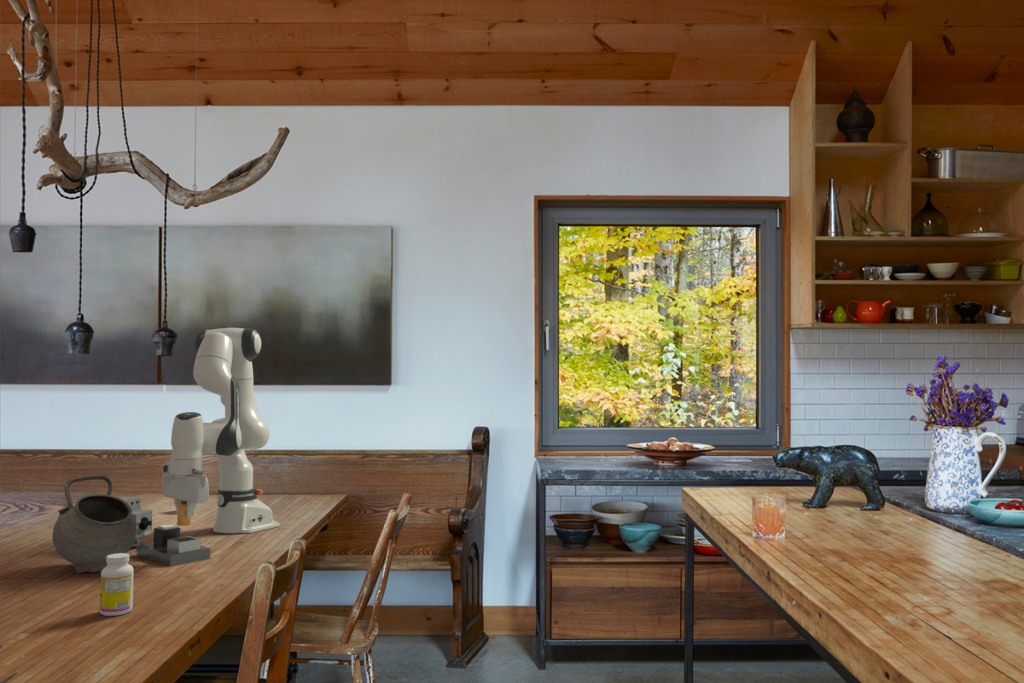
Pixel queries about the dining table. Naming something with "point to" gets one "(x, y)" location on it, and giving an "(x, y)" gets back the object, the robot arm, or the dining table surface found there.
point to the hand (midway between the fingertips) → (184, 515)
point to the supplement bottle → (116, 586)
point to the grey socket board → (173, 548)
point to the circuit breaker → (139, 518)
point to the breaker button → (166, 527)
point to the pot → (93, 528)
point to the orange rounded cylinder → (183, 514)
